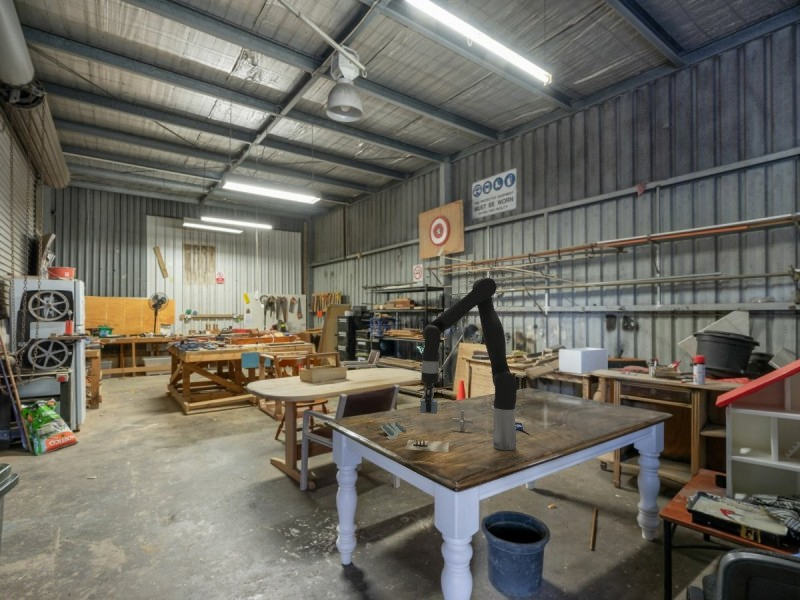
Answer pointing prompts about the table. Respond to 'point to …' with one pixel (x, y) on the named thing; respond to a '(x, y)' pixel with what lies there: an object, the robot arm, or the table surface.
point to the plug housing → (433, 406)
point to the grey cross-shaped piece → (462, 420)
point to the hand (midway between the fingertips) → (428, 410)
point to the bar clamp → (519, 426)
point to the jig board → (427, 445)
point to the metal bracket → (392, 429)
